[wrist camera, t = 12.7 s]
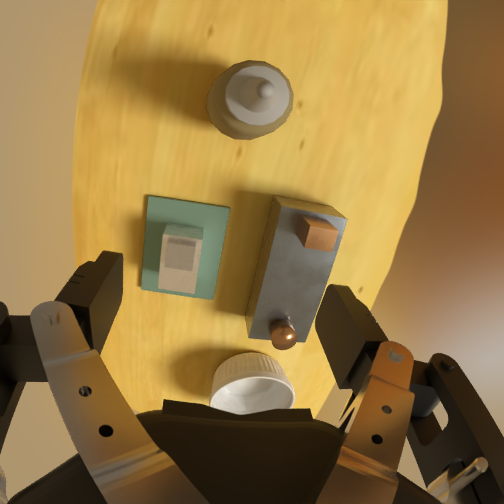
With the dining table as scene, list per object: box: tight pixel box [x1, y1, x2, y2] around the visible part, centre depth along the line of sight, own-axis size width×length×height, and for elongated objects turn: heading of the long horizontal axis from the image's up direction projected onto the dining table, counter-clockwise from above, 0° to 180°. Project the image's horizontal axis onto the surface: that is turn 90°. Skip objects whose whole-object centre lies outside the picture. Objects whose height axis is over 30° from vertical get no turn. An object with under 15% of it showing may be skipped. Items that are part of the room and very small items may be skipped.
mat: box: [141, 195, 230, 300], centre depth 39 cm, size 13×10×1 cm
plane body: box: [245, 195, 347, 350], centre depth 38 cm, size 18×8×9 cm, turn 170°
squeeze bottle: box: [206, 60, 294, 140], centre depth 25 cm, size 8×8×18 cm
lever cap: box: [158, 223, 204, 294], centre depth 37 cm, size 7×4×5 cm, turn 170°
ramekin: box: [209, 352, 295, 415], centre depth 47 cm, size 13×13×7 cm
